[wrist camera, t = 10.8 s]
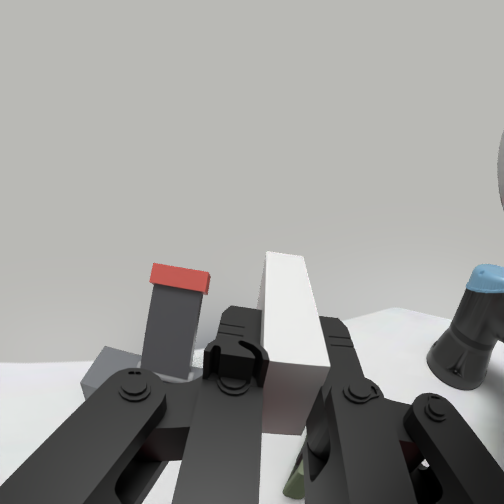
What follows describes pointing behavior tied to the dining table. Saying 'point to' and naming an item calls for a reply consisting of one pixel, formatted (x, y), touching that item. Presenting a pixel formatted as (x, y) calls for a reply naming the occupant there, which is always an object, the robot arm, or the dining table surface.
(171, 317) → the breaker lever
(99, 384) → the breaker box
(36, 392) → the dining table surface
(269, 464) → the dining table surface
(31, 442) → the dining table surface
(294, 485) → the handheld radio
